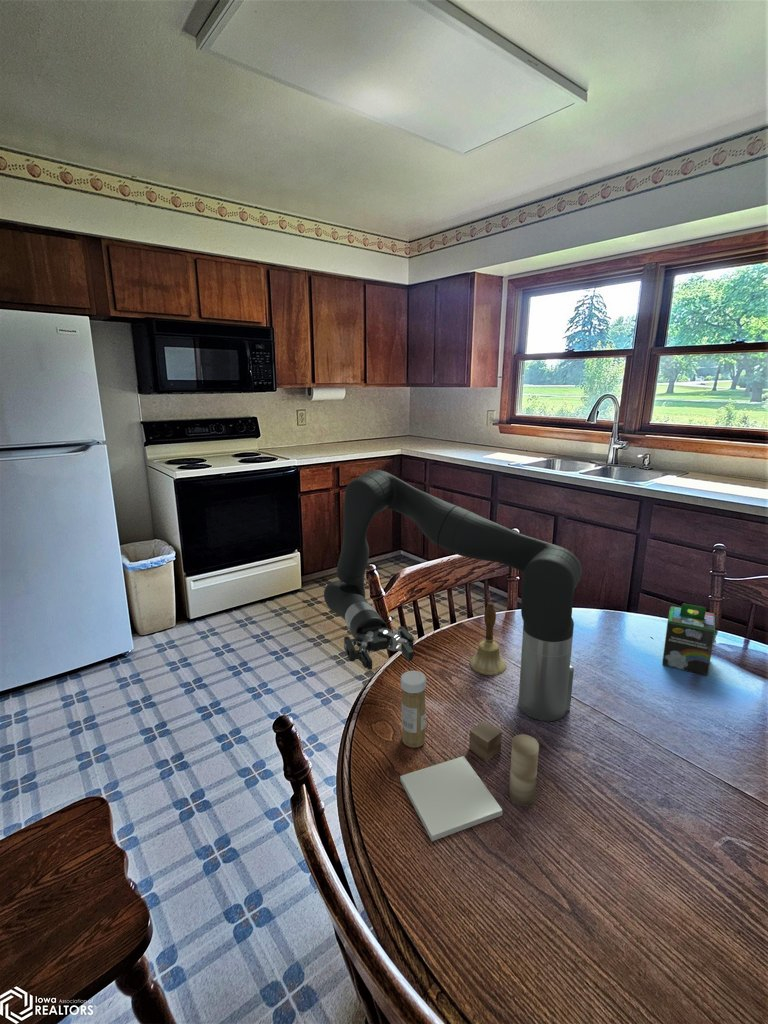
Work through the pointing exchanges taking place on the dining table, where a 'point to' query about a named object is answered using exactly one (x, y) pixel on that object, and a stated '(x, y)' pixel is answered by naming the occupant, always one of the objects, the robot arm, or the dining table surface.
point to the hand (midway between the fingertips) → (391, 661)
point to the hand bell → (488, 648)
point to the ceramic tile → (449, 797)
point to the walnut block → (485, 740)
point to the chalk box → (689, 638)
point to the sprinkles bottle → (413, 708)
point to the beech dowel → (523, 769)
